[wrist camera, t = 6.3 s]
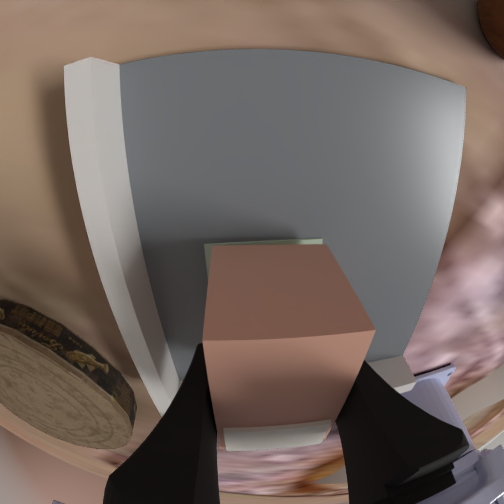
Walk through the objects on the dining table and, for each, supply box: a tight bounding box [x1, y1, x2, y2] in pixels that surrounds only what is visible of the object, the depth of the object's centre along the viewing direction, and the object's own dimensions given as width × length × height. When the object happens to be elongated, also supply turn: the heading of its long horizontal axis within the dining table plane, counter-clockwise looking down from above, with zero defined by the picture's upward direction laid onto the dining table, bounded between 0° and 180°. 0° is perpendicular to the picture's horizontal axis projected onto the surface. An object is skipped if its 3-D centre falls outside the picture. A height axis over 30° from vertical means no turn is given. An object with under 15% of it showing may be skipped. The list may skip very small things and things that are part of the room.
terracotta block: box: [202, 244, 376, 451], centre depth 11 cm, size 4×7×5 cm, turn 179°
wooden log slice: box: [0, 299, 137, 449], centre depth 16 cm, size 16×16×3 cm
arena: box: [64, 49, 466, 417], centre depth 12 cm, size 18×16×3 cm
